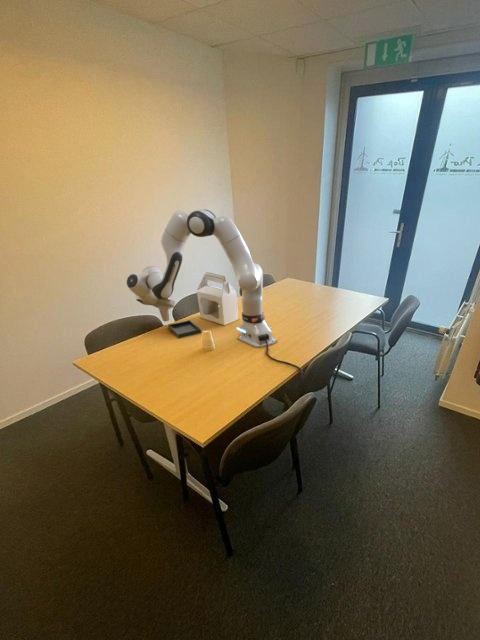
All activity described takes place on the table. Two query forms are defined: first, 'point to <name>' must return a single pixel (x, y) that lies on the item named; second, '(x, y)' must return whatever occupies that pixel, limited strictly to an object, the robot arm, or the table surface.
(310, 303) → the table surface
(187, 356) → the table surface
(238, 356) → the table surface
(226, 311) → the gable box
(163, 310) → the smoothie
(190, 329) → the tray
